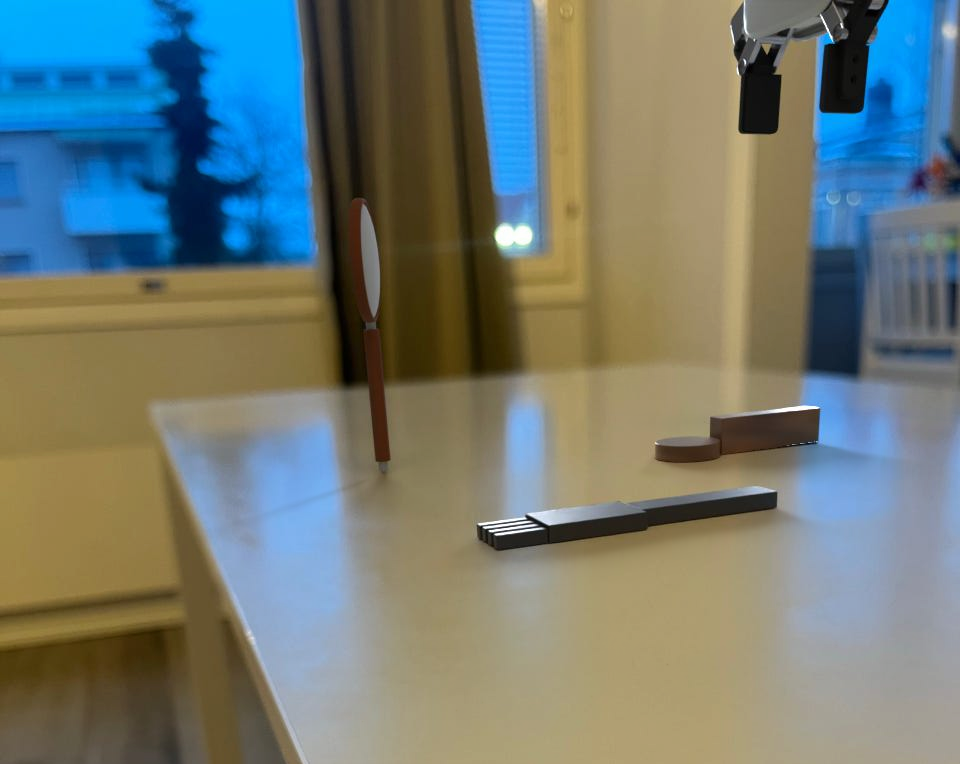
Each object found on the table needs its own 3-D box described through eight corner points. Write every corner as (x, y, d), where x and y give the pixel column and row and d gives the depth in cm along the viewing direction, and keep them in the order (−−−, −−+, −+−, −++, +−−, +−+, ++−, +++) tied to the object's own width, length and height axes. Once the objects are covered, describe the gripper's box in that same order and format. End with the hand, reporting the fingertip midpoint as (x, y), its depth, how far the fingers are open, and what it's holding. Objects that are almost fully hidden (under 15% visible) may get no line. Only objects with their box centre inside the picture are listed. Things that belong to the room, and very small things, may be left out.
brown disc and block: (793, 438, 83) (794, 404, 82) (831, 445, 78) (833, 409, 78) (643, 455, 79) (643, 420, 78) (675, 464, 74) (675, 426, 74)
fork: (749, 499, 61) (750, 483, 61) (784, 509, 58) (785, 493, 58) (476, 537, 56) (475, 519, 56) (498, 550, 53) (497, 532, 53)
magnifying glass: (387, 483, 74) (361, 191, 67) (364, 484, 74) (336, 193, 67) (401, 464, 82) (379, 202, 76) (381, 464, 82) (357, 203, 76)
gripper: (963, -219, 59) (926, 104, 64) (787, -113, 74) (771, 141, 80) (857, -236, 56) (829, 101, 62) (699, -122, 72) (689, 139, 78)
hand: (796, 123), depth 71 cm, fingers open, 9 cm apart
